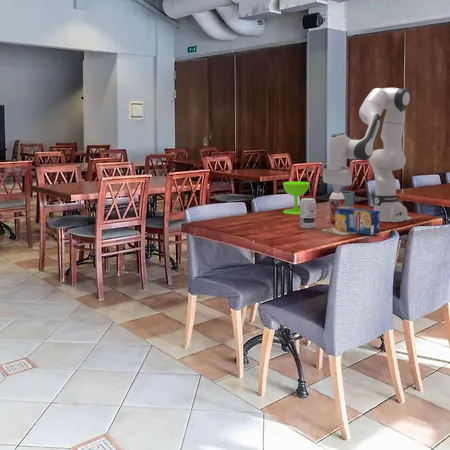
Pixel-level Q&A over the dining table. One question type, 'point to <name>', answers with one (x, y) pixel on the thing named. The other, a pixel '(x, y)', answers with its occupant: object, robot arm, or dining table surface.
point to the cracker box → (357, 220)
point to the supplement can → (307, 213)
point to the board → (338, 232)
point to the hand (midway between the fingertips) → (336, 193)
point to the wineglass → (295, 194)
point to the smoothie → (335, 204)
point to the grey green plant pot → (348, 198)
